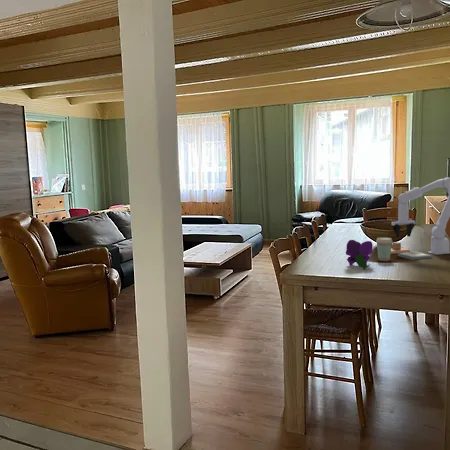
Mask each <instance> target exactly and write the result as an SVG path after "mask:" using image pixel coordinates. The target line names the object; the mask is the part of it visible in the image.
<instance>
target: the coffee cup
mask: <svg viewBox="0 0 450 450" xmlns="http://www.w3.org/2000/svg"><path fill="white" fill-rule="evenodd" d="M375 242H376V249H377V258H378V260H379V261H381V262H388V261H390V260H391V255H392V254H391V248H392V242H393V239H392V237H385V236H384V237H377V238H376V241H375Z"/></svg>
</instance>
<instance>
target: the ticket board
mask: <svg viewBox="0 0 450 450" xmlns="http://www.w3.org/2000/svg"><path fill="white" fill-rule="evenodd" d="M432 255H433V254H429V253H428V254H427V253H425V252H419V251H410V252H406V253H397V256H398V257H400V258H403V259H407V260H410V261H413V260H425V259H432Z"/></svg>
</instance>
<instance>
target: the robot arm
mask: <svg viewBox="0 0 450 450" xmlns="http://www.w3.org/2000/svg"><path fill="white" fill-rule="evenodd" d="M436 188H444V189H445V190H446V192H447V194H448V197H447V199H446V201H445V204H444V206H443V208H442V210H441V212H440V215H439V217H438V219H437V221H436V223H435V225H434V226H433V227H432V228H431V230H430V231H431V234H432V235H431V237H430V251H429V250H428V251H427V253H428V254H431V255H438V256H439V255H445V254H447V255H448V254H450V240H449V239H448V238H447V237H445V235H446V229H447V223H448V222H449V219H450V177H449V176H447V177H444V178H440V179H437V180H435V181H433V182H431V183H428V184H427V185H424V186H422V187H418V186H417V187H415V186H414V187H412V189H409V190H405V191H404V192H403V193H400V194H399V195H398V197H397V201H398V205H397V206H398V208H397V209H398V212H397V219H398V220H395V221H391V227H392V229H393V232H394V235H395V238H400V231H401V225H405V226H406V236H407V237H411V235H412V231H413V229H414V227H415V225H416V221H415V220H409V214H410V213H409V210H410V209H409V208H410V205H409V203H410V201H413V200H416V199H417V198H420V197H422V196H423V194H424V193H427V192H429V191H431V190H434V189H436Z"/></svg>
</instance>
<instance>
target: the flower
mask: <svg viewBox="0 0 450 450" xmlns="http://www.w3.org/2000/svg"><path fill="white" fill-rule="evenodd" d="M373 244H374V243H373V242H372V240H367V241H364V242H362V243H361V242H359V241H357V240H354V239H349V240H348V241H347V244H346V249H345V255H347V256H348V257H347V259H346V262H348V265H349V266H352V265H354V264H355V263H356V264H357V266H358V267H359V268H361V269H363V270H364V269H365V270H366V269H367V268H369V266H370V265H371V264H370V263H369V264H367V263H368V261H369V260H371V257H370V255H372V254H373V252H374V251H373Z"/></svg>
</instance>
